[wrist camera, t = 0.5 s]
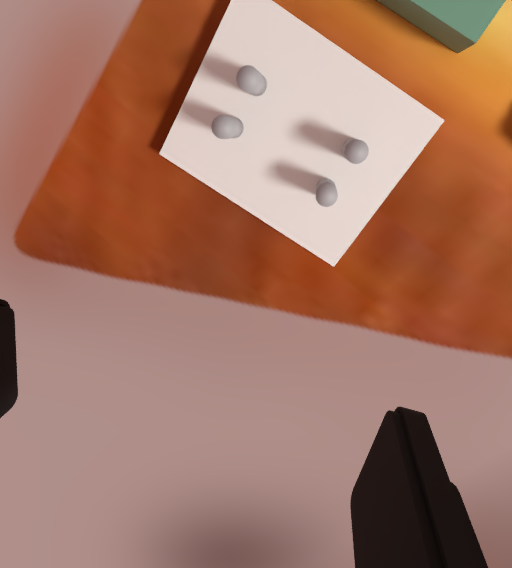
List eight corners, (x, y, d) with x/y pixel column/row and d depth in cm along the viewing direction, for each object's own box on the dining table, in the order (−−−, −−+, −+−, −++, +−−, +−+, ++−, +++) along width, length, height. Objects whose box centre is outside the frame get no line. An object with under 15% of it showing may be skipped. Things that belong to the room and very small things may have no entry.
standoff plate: (244, -14, 29) (228, -44, 24) (439, 120, 31) (462, 118, 26) (165, 153, 35) (139, 156, 30) (333, 261, 36) (335, 283, 31)
